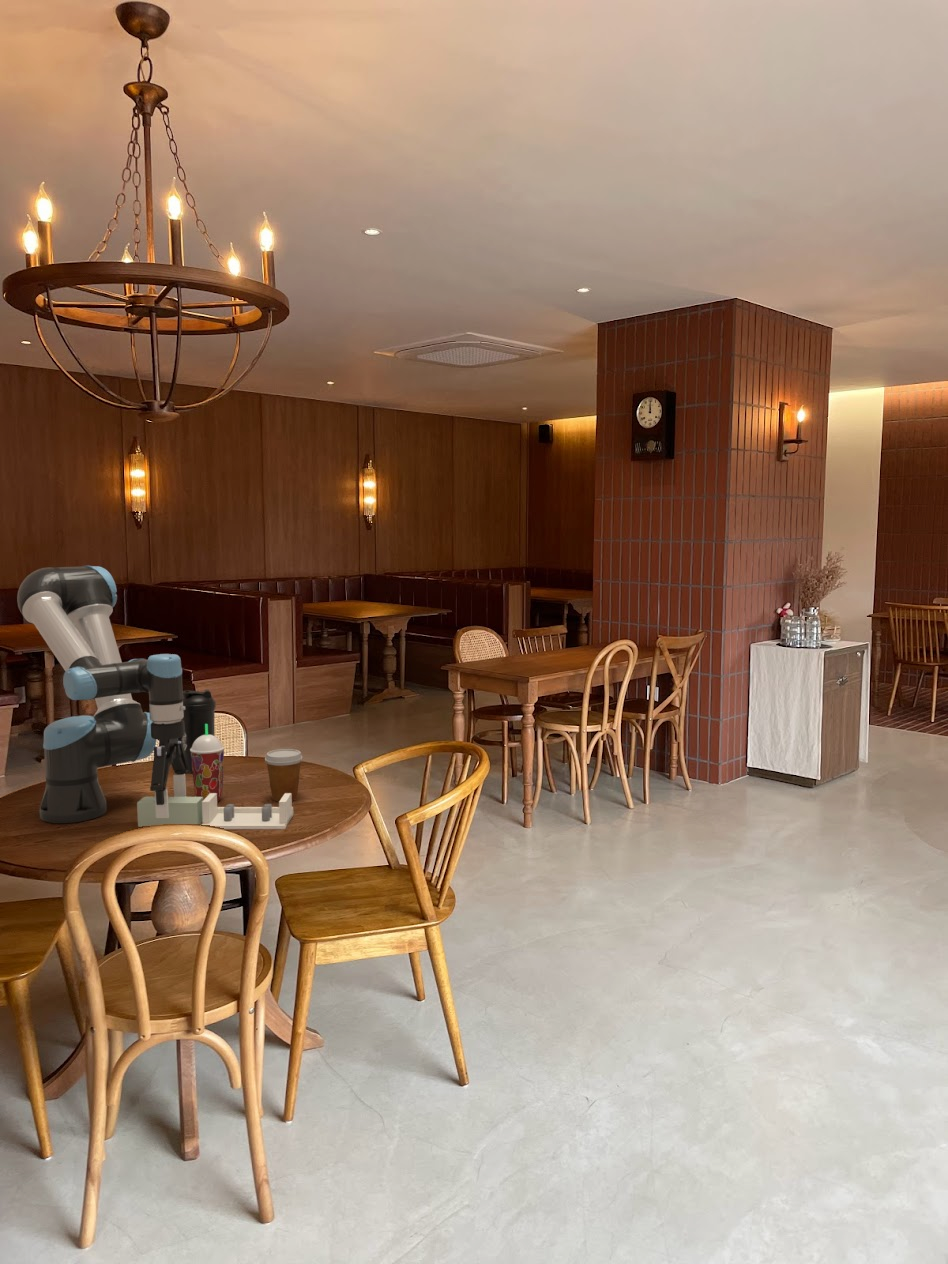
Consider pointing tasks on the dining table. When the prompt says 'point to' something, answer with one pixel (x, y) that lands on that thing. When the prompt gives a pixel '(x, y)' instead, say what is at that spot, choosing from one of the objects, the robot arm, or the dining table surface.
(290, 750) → the disposable coffee cup
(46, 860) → the dining table surface
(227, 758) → the dining table surface
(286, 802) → the peg cradle
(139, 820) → the shelf block
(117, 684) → the robot arm
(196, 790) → the smoothie
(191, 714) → the water bottle
